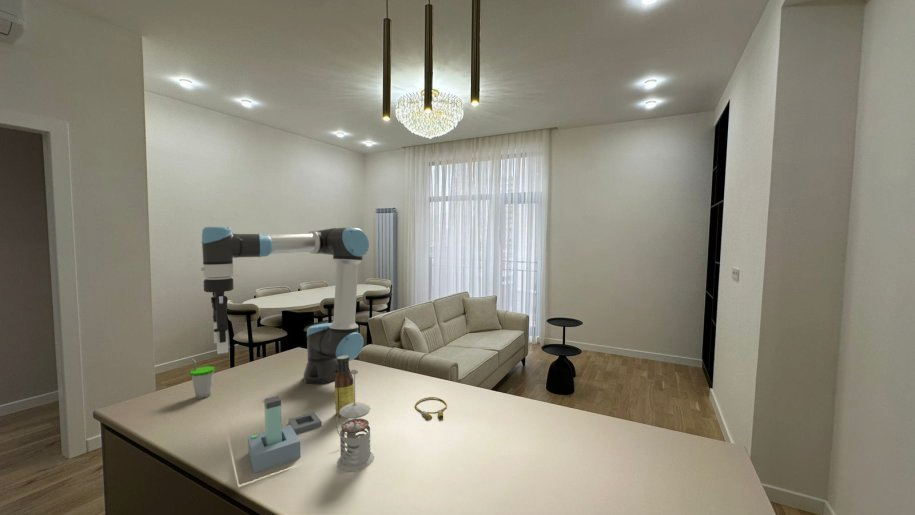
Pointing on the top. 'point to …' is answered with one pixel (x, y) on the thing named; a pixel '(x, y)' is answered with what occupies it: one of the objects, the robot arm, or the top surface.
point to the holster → (305, 422)
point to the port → (273, 450)
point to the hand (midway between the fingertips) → (220, 347)
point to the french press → (354, 436)
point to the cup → (202, 380)
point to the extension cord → (427, 415)
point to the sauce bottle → (343, 384)
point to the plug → (273, 420)
